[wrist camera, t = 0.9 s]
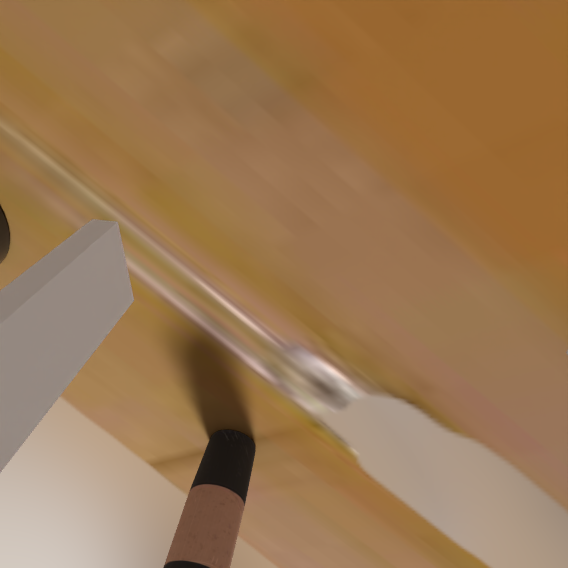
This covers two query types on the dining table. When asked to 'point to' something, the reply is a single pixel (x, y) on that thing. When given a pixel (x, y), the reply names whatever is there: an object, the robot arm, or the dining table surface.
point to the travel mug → (214, 504)
